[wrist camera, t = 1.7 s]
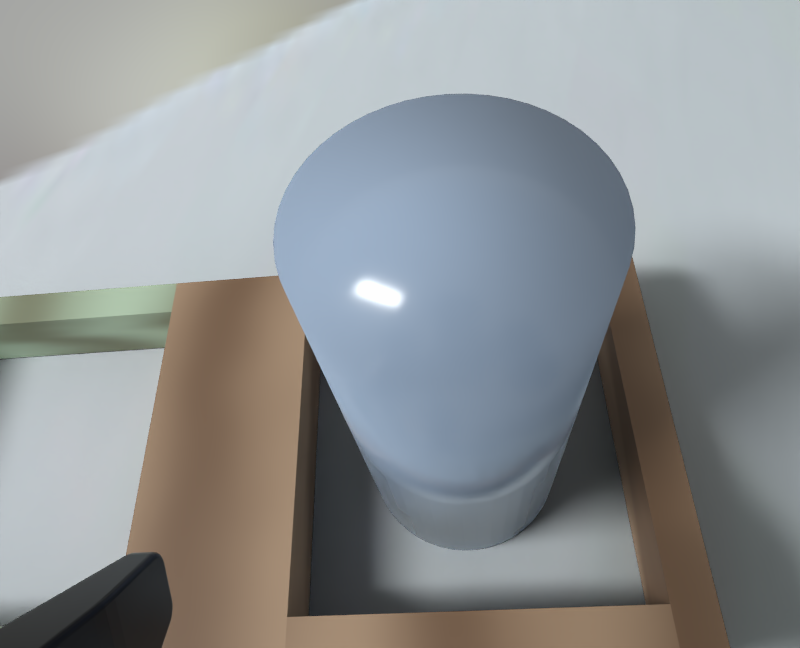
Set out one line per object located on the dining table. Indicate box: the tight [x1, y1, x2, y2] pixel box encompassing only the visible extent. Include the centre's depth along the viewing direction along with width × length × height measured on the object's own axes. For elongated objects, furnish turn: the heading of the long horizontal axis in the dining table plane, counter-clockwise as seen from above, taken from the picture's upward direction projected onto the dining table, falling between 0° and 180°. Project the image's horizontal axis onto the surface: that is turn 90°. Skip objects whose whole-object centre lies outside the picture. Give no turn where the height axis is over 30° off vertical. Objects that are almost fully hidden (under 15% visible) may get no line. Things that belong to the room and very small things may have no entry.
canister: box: [273, 94, 635, 550], centre depth 16 cm, size 6×6×12 cm
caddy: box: [0, 258, 730, 648], centre depth 21 cm, size 27×12×2 cm, turn 91°
